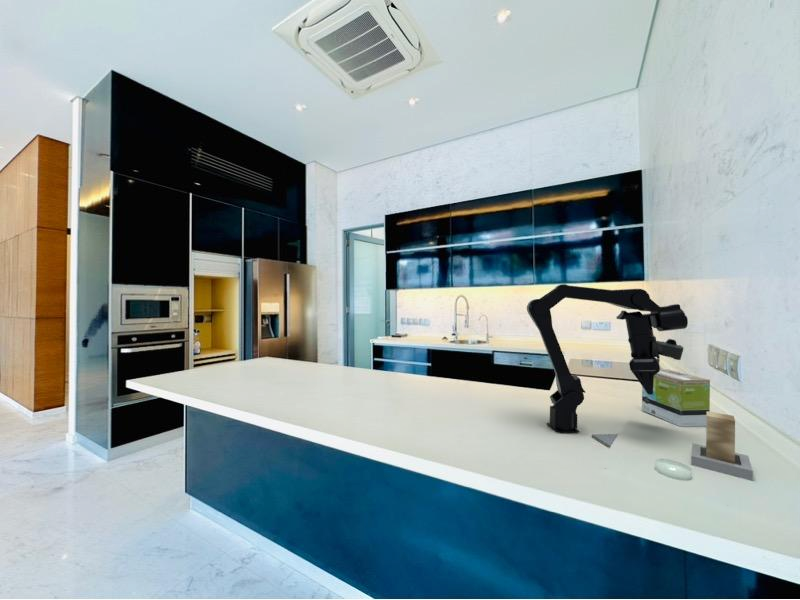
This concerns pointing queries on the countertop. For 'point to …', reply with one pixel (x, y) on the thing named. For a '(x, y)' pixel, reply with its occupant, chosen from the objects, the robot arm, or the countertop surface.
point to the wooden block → (720, 437)
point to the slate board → (605, 438)
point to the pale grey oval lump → (673, 469)
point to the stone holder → (722, 463)
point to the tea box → (678, 398)
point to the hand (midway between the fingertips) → (650, 389)
